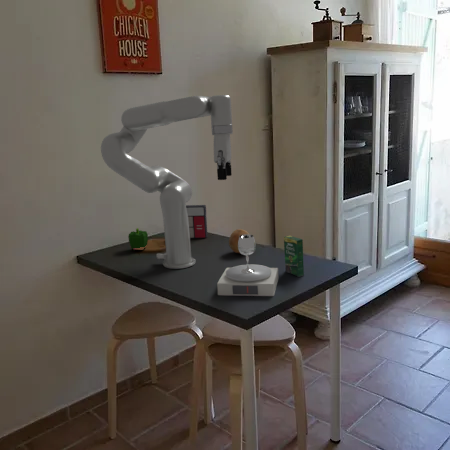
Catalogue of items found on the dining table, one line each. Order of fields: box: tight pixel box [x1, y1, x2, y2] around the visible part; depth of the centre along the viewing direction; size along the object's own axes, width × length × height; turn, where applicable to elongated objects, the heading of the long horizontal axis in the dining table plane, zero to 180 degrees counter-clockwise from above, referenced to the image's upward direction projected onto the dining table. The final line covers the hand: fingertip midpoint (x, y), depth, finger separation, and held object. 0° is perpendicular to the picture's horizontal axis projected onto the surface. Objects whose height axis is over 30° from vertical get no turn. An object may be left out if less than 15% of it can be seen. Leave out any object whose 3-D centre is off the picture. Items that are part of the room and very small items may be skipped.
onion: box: [228, 228, 250, 254], centre depth 209 cm, size 10×10×10 cm
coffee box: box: [283, 235, 305, 278], centre depth 180 cm, size 8×3×13 cm, turn 28°
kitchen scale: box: [216, 263, 279, 297], centre depth 170 cm, size 18×17×5 cm
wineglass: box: [238, 233, 257, 273], centre depth 169 cm, size 6×6×12 cm
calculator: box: [186, 204, 208, 239], centre depth 237 cm, size 11×4×15 cm, turn 80°
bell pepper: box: [127, 227, 149, 250], centre depth 223 cm, size 8×8×10 cm
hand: (224, 177), depth 189 cm, fingers open, 9 cm apart
